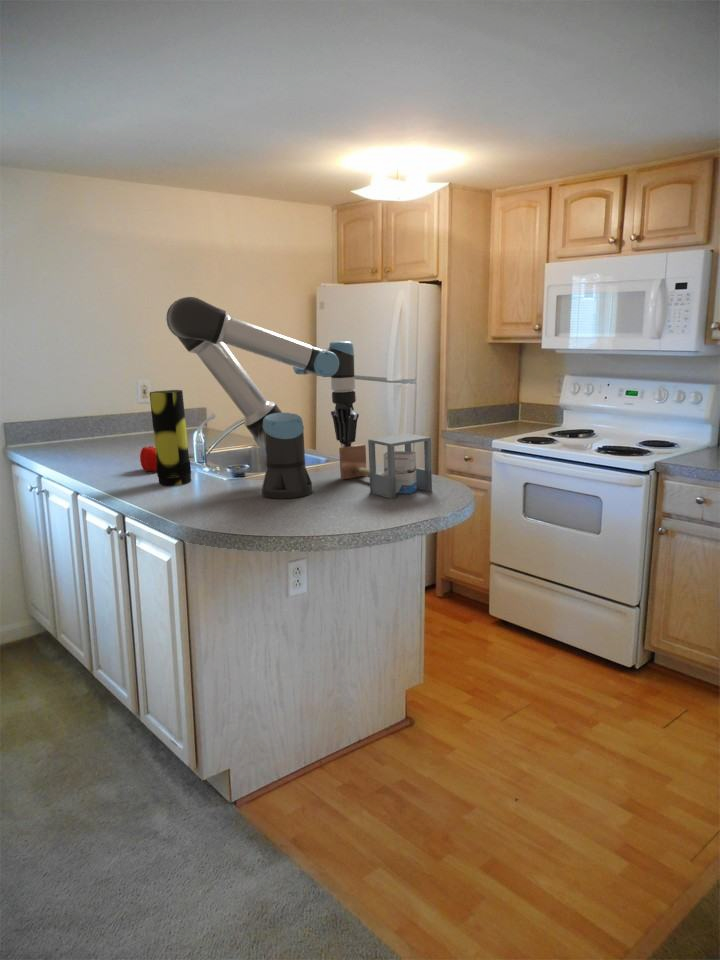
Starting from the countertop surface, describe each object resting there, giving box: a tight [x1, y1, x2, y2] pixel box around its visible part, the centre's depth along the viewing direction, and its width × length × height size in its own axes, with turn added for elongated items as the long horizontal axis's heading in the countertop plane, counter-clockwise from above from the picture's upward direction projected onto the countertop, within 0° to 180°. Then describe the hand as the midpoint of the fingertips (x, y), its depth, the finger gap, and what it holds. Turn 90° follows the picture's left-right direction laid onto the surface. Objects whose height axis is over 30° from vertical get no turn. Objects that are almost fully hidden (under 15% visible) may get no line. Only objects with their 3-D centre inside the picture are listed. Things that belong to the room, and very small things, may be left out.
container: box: [148, 389, 192, 487], centre depth 229 cm, size 11×11×30 cm
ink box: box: [383, 450, 418, 495], centre depth 206 cm, size 8×5×12 cm, turn 65°
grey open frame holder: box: [367, 433, 433, 500], centre depth 206 cm, size 11×14×16 cm
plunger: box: [338, 443, 384, 480], centre depth 220 cm, size 20×9×10 cm, turn 34°
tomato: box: [139, 446, 157, 473], centre depth 252 cm, size 11×12×9 cm
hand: (346, 462), depth 230 cm, fingers closed
